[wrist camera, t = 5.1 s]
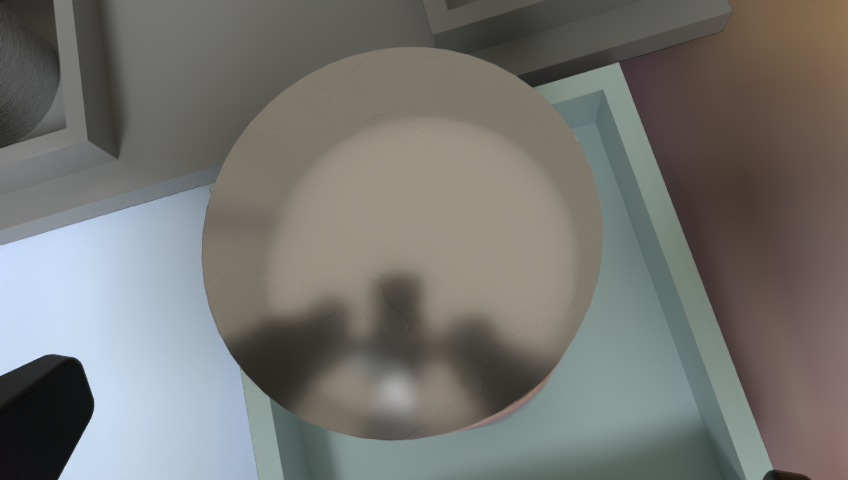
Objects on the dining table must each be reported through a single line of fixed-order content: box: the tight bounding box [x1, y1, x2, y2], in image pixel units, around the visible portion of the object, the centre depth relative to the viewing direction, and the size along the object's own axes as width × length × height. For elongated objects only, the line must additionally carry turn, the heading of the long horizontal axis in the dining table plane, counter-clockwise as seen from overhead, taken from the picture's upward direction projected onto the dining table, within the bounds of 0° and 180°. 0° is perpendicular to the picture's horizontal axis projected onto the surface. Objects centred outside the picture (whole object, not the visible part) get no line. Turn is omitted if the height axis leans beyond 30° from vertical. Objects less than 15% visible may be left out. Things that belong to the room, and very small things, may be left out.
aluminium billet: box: [202, 47, 603, 441], centre depth 13 cm, size 4×4×11 cm
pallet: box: [0, 0, 733, 245], centre depth 21 cm, size 27×10×2 cm, turn 104°
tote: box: [209, 62, 773, 480], centre depth 17 cm, size 11×11×3 cm
